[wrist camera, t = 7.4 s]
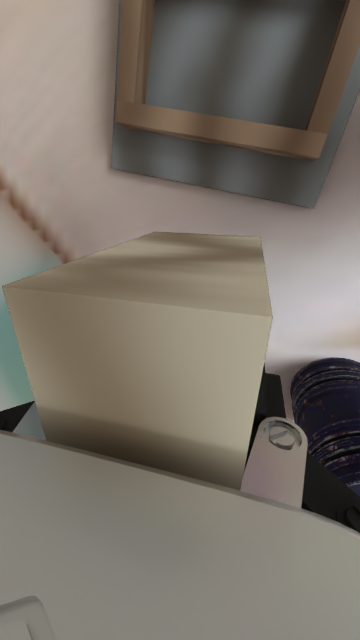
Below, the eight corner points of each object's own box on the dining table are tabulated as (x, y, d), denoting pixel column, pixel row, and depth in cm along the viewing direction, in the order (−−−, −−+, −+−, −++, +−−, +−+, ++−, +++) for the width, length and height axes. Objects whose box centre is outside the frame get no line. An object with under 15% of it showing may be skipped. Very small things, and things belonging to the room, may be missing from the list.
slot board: (427, -98, 16) (468, -166, 13) (311, 208, 25) (320, 209, 22) (131, -110, 19) (108, -169, 16) (115, 168, 27) (98, 165, 24)
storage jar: (395, 366, 29) (515, 506, 16) (363, 430, 33) (436, 582, 20) (299, 349, 31) (335, 463, 18) (280, 412, 35) (298, 541, 22)
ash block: (260, 237, 11) (273, 317, 4) (232, 432, 15) (213, 632, 8) (154, 231, 12) (2, 286, 5) (159, 417, 16) (87, 584, 9)
